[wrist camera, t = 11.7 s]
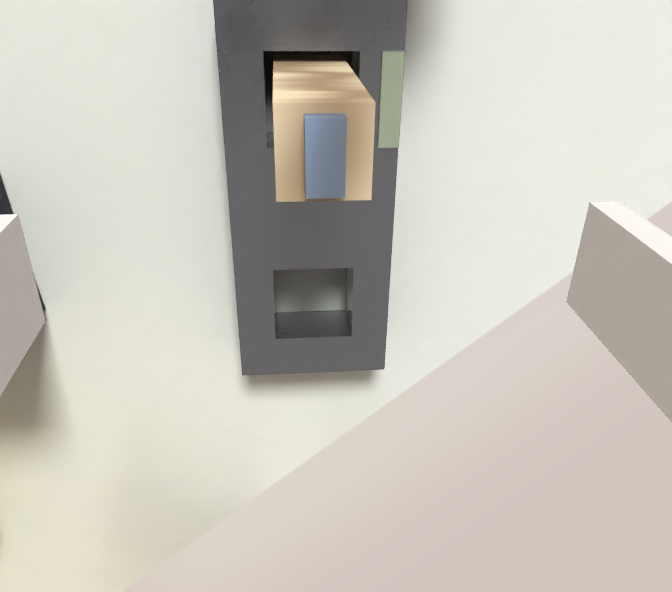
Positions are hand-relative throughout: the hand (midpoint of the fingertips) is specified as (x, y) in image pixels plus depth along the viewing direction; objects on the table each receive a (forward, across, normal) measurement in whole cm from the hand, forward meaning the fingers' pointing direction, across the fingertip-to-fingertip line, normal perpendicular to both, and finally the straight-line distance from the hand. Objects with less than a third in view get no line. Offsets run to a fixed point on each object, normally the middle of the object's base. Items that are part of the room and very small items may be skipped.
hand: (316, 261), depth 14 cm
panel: (+25, +1, -7) cm, 26 cm away
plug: (+25, +1, -1) cm, 25 cm away
